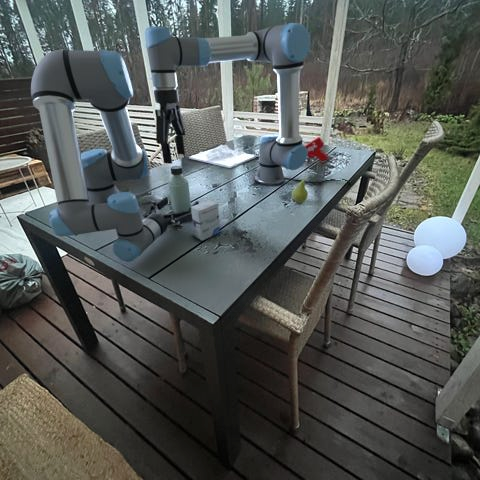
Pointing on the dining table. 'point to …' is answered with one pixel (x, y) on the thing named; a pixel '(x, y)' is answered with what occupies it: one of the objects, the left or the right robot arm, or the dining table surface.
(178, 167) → the cap
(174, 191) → the bottle
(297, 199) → the fruit
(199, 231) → the ink box
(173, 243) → the dining table surface
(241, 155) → the relief map
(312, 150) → the toy gun
